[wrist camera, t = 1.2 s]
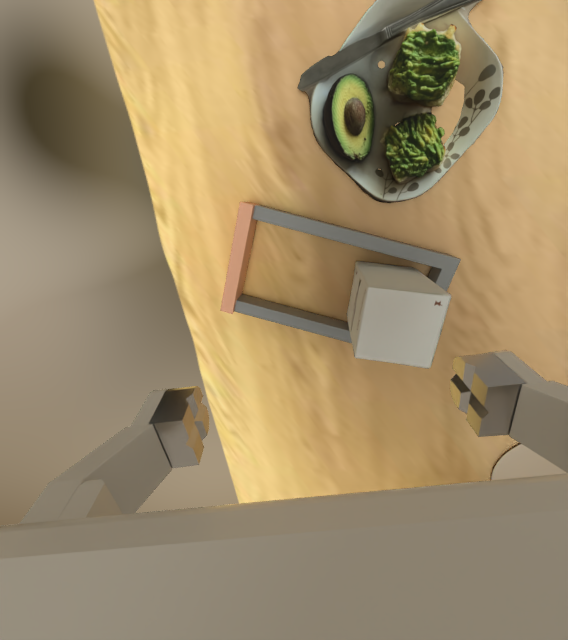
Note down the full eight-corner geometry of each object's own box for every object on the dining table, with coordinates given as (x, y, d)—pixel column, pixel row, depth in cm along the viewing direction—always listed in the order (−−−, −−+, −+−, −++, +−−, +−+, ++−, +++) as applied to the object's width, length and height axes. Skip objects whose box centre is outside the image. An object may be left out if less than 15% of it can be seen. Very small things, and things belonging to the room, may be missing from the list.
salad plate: (421, -83, 28) (438, -134, 24) (546, 68, 31) (581, 47, 27) (281, 111, 35) (275, 98, 31) (394, 223, 38) (403, 225, 33)
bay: (450, 255, 38) (464, 260, 34) (409, 350, 42) (417, 364, 39) (248, 201, 38) (240, 201, 34) (229, 301, 43) (220, 310, 39)
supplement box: (354, 259, 39) (367, 283, 27) (415, 266, 39) (456, 294, 27) (344, 315, 42) (352, 359, 30) (401, 322, 41) (432, 370, 29)
